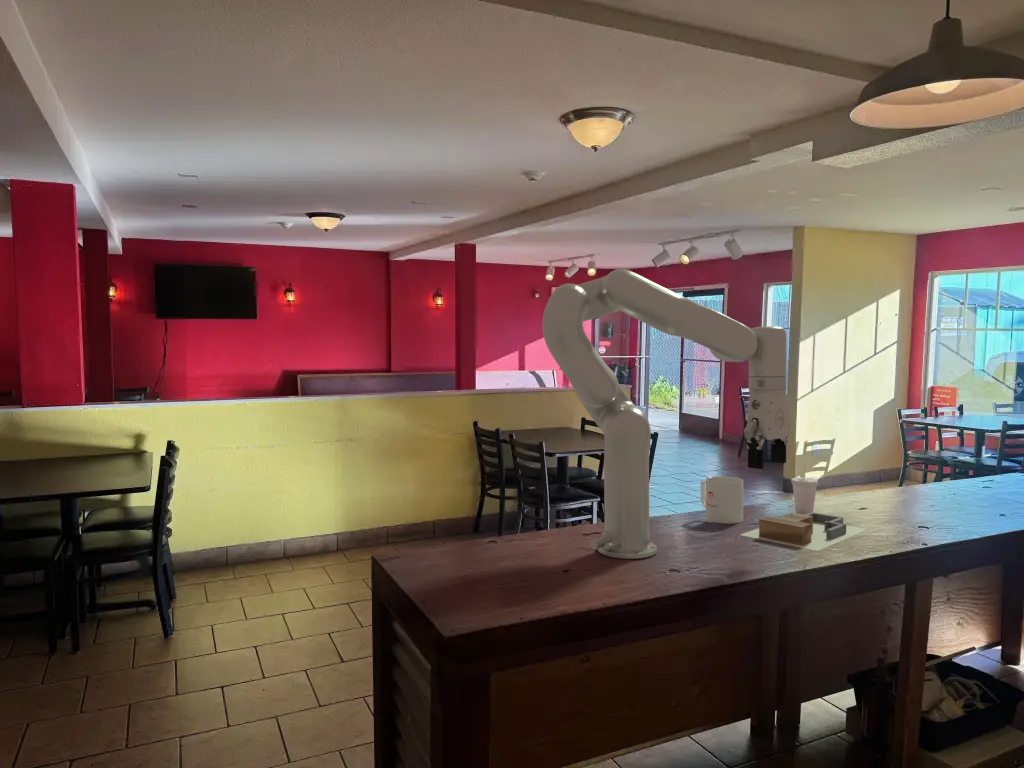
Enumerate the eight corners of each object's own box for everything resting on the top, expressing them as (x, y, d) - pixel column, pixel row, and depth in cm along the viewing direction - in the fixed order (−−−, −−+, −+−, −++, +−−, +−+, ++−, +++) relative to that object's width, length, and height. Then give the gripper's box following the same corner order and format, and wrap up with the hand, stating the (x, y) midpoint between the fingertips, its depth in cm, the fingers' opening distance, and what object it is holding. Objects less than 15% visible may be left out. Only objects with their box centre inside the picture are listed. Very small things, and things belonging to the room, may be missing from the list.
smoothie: (813, 514, 184) (813, 460, 183) (821, 520, 177) (821, 464, 177) (787, 514, 184) (788, 460, 184) (795, 520, 178) (795, 464, 177)
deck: (817, 556, 147) (817, 541, 147) (739, 540, 160) (739, 526, 160) (867, 534, 163) (867, 520, 163) (793, 521, 177) (793, 508, 177)
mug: (751, 525, 174) (751, 480, 173) (725, 530, 169) (725, 484, 169) (714, 515, 184) (714, 473, 183) (689, 520, 180) (689, 476, 179)
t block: (802, 545, 151) (802, 527, 151) (759, 536, 158) (759, 519, 158) (826, 536, 158) (826, 518, 158) (783, 528, 166) (783, 511, 165)
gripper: (763, 387, 141) (763, 472, 142) (803, 383, 153) (803, 462, 154) (729, 386, 147) (729, 468, 148) (770, 382, 158) (770, 458, 159)
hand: (767, 465), depth 151 cm, fingers open, 9 cm apart
